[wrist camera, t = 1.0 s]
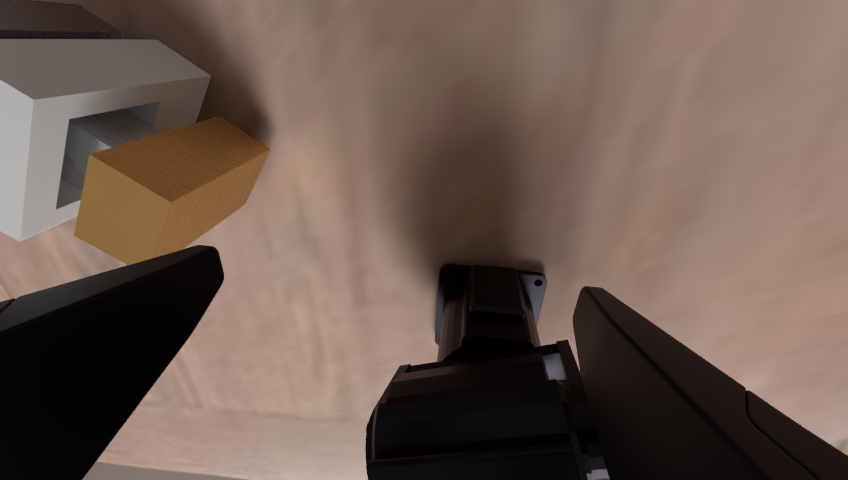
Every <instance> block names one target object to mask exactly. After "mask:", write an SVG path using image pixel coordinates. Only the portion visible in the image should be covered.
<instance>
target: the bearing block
mask: <svg viewBox="0 0 848 480" xmlns="http://www.w3.org/2000/svg"><path fill="white" fill-rule="evenodd" d="M210 79H211V75H209V74H208V73H206V72H205V71H203V70H202V69H200V68H199V67H197V66H196V65H194V64H193V63H192V62H190V61H189V60H187V59H186V58H184V57H183V56H181V55H180V54H178V53H177V52H175V51H174V50H172V49H171V48H169V47H168V46H166V45H165V44H163V43H162V42H160V41H159V40H138V39H0V231H1V232H3V233H4V234H6V235H8V236H10V237H12V238H14V239H16V240H18V241H20V242H21V241H23V240H25V239H28V238H30V237H32V236H34V235H37V234H39V233H41V232H43V231H46V230H48V229H50V228H52V227H55V226H57V225H59V224H61V223H64V222H66V221H68V220H70V219H73V218H75V217H77V216H78V212H79V207H80V201H81V196H82V191H81V190H79V189H77V188H75V187H74V186H72V185H70V184H68V183H67V182H65V181H63V180H61V179H60V178H61V171H62V164H63V157H64V151H65V144H66V137H67V131H68V124H69V119H72V118H77V117H83V116H88V115H93V114H98V113H103V112H108V111H114V110H119V109H124V108H126V109H127V110H129V111H131V112H132V113H134V114H135V115H137V116H139V117H140V118H142V119H143V120H145V121H147V122H148V123H150V124H151V125H153V126H155V127H156V128H158V129H159V130H161V131H163V132H166V131H170V130H173V129H177V128H180V127H183V126H187V125H190V124H194V123H196V121H197V118H198V115H199V112H200V109H201V106H202V103H203V100H204V97H205V94H206V91H207V88H208V85H209V82H210Z"/></svg>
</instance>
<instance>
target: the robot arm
mask: <svg viewBox="0 0 848 480" xmlns="http://www.w3.org/2000/svg"><path fill="white" fill-rule="evenodd" d="M445 271H450V272H451V273H450V274H446V273H445ZM537 279H540V280H541V281H540V282H537V283H536V282H535V280H537ZM223 280H224V272H223V268H222V264H221V260H220V256H219V252H218V250H217V249H216V248H215V247H213V246H204V245H197V246H193V247H190V248H186V249H183V250H179V251H176V252H172V253H169V254H165V255H162V256H159V257H155V258H152V259H148V260H145V261H141V262H138V263H134V264H131V265H127V266H124V267H120V268H117V269H114V270H110V271H107V272H103V273H100V274H96V275H93V276H89V277H86V278H82V279H79V280H75V281H72V282H69V283H65V284H62V285H58V286H55V287H51V288H48V289H44V290H41V291H37V292H34V293H30V294H27V295H24V296H20V297H18V298H17V299H9V300H6V301H3V302H0V480H82V479H83V478H84V476H85V475H86V474H87V473H88V471H89V470H90V469H91V467H92V466H93V465H94V463H95V462H96V461H97V459H98V458H99V457H100V455H101V454H102V453H103V451H104V450H105V449H106V447H107V446H108V445H109V443H110V442H111V441H112V439H113V438H114V437H115V435H116V434H117V433H118V431H119V430H120V429H121V427H122V426H123V425H124V423H125V422H126V421H127V419H128V418H129V417H130V415H131V414H132V413H133V411H134V410H135V409H136V407H137V406H138V405H139V403H140V402H141V401H142V399H143V398H144V397H145V395H146V394H147V393H148V391H149V390H150V389H151V387H152V386H153V385H154V383H155V382H156V381H157V380H158V378H159V377H160V376H161V374H162V373H163V372H164V370H165V369H166V368H167V366H168V365H169V364H170V362H171V361H172V360H173V358H174V357H175V356H176V354H177V353H178V352H179V350H180V349H181V348H182V346H183V345H184V344H185V342H186V341H187V340H188V338H189V337H190V335H191V334H192V333H193V331H194V329H195V328H196V326H197V325H198V323H199V322H200V320H201V318H202V317H203V315H204V313H205V312H206V310H207V308H208V307H209V305H210V303H211V302H212V300H213V298H214V297H215V295H216V293H217V292H218V290H219V288H220V287H221V285H222V283H223ZM546 285H547V280H546V277H545V275H544V274H543V273H540V272H531V271H520V270H516V269H514V268H503V267H493V266H482V265H474V266H467V265H457V264H444V265H442V266H441V268H440V273H439V287H438V302H437V317H436V332H435V342H436V344H438V345H439V349H438V358H437V362H434V363H427V364H421V365H414V366H411V365H410V364H408V365H401V366H400V367H399V368H398V370H397V372H396V373H395V375H394V377H393V378H392V380H391V382H390V383H389V385H388V387H387V388H386V390H385V392H384V393H383V395H382V397H381V398H380V400H379V402H378V403H377V405H376V407H375V408H374V410H373V412H372V414H371V417H370V420H369V422H368V424H367V428H366V433H367V435H366V464H367V466H366V469H367V475H368V480H848V456H847V455H845V454H844V453H843V452H841V451H839V450H838V449H836V448H835V447H833V446H832V445H830V444H828V443H827V442H825V441H824V440H822V439H821V438H819V437H818V436H816V435H814V434H813V433H811V432H810V431H808V430H807V429H805V428H804V427H802V426H801V425H799V424H798V423H796V422H795V421H793V420H792V419H790V418H789V417H787V416H786V415H784V414H783V413H781V412H780V411H778V410H777V409H775V408H774V407H773V406H771V405H770V404H768V403H767V402H765V401H764V400H762V399H761V398H760V397H758V396H757V395H755V394H754V393H752V392H751V391H746V388H745V387H744V386H742V385H741V384H739V383H738V382H736V381H735V380H734V379H732V378H731V377H729V376H728V375H726V374H725V373H724V372H722V371H721V370H719V369H718V368H716V367H715V366H713V365H712V364H711V363H709V362H708V361H706V360H705V359H703V358H702V357H701V356H699V355H698V354H696V353H695V352H693V351H692V350H690V349H689V348H688V347H686V346H685V345H683V344H682V343H680V342H679V341H678V340H676V339H675V338H673V337H672V336H670V335H669V334H667V333H666V332H665V331H663V330H662V329H660V328H659V327H657V326H656V325H654V324H653V323H652V322H650V321H649V320H647V319H646V318H644V317H643V316H642V315H640V314H639V313H637V312H636V311H634V310H633V309H631V308H630V307H629V306H627V305H626V304H624V303H623V302H621V301H620V300H619V299H617V298H616V297H614V296H613V295H611V294H610V293H608V292H607V291H606V290H604V289H603V288H599V287H589V286H585V287H583V288H582V289H581V291H580V294H579V298H578V301H577V304H576V308H575V311H574V314H573V327H574V334H575V340H576V347H577V353H578V360H579V366H580V371H579V369H578V366H577V363H576V361H575V358H574V355H573V353H572V350H571V347H570V345H569V342H568V340H562V341H556V342H557V344H551V345H544V346H541V345H540V340H539V336H538V331H537V323H538V319H539V315H540V311H541V306H542V302H543V298H544V294H545V290H546ZM580 372H581V374H580Z"/></svg>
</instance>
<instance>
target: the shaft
mask: <svg viewBox="0 0 848 480" xmlns="http://www.w3.org/2000/svg"><path fill="white" fill-rule="evenodd" d="M269 152H270V149H269V148H268V147H266V146H265V145H263V144H262V143H260V142H259V141H257V140H255V139H254V138H252V137H251V136H249V135H248V134H246V133H245V132H243V131H242V130H240V129H239V128H237V127H236V126H234V125H232V124H231V123H229V122H228V121H226V120H225V119H223V118H222V117H220V116H217V117H214V118H210V119H207V120H204V121H200V122H197V123H194V124H190V125H187V126H183V127H180V128H177V129H173V130H170V131H166V132H163V131H161V130H159V129H158V128H156V127H155V126H153V125H151V124H150V123H148V122H147V121H145V120H143V119H142V118H140V117H139V116H137V115H135V114H134V113H132V112H131V111H129V110H127V109H126V108H124V109H119V110H114V111H108V112H103V113H98V114H93V115H88V116H83V117H77V118H72V119H69V124H68V131H67V137H66V144H65V151H64V157H63V164H62V171H61V178H60V179H61V180H63V181H65V182H67V183H68V184H70V185H72V186H74V187H75V188H77V189H79V190H81V191H82V196H81V201H80V207H79V212H78V217H77V223H76V228H75V233H74V235H75V236H76V237H78V238H80V239H82V240H84V241H85V242H87V243H89V244H91V245H93V246H95V247H96V248H98V249H100V250H102V251H104V252H106V253H107V254H109V255H111V256H113V257H115V258H117V259H118V260H120V261H122V262H124V263H126V264H127V265H131V264H134V263H138V262H141V261H145V260H148V259H152V258H155V257H159V256H162V255H165V254H169V253H172V252H176V251H179V250H182V249H184V248H185V247H186V246H188V245H189V244H191V243H192V242H193V241H195V240H196V239H198V238H199V237H200V236H202V235H203V234H205V233H206V232H207V231H209V230H210V229H212V228H213V227H214V226H216V225H217V224H219V223H220V222H221V221H223V220H224V219H226V218H227V217H228V216H230V215H231V214H233V213H234V212H235V211H237V210H238V209H240V208H241V207H242V206H244V205H245V204H246V202H247V200H248V197H249V195H250V193H251V191H252V189H253V187H254V184H255V182H256V180H257V178H258V176H259V173H260V171H261V169H262V167H263V165H264V163H265V160H266V158H267V156H268V154H269Z"/></svg>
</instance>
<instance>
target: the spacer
mask: <svg viewBox="0 0 848 480" xmlns="http://www.w3.org/2000/svg"><path fill="white" fill-rule="evenodd" d="M121 34H122V33H121V32H120V31H118V30H117V29H115V28H114V27H112V26H111V25H109V24H108V23H106V22H105V21H103V20H102V19H100V18H99V17H97V16H96V15H94V14H93V13H91V12H90V11H88V10H87V9H85V8H84V7H82V6H81V5H75V4H64V3H53V2H42V1H31V0H0V39H121Z"/></svg>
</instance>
